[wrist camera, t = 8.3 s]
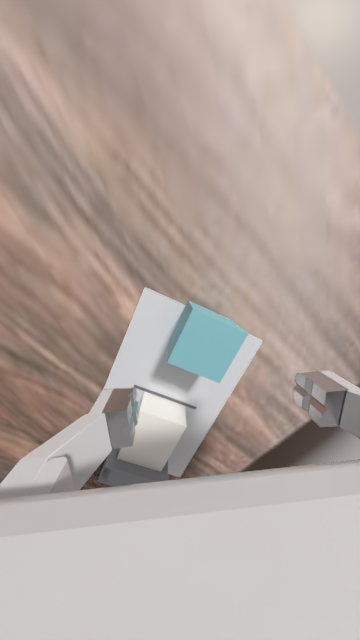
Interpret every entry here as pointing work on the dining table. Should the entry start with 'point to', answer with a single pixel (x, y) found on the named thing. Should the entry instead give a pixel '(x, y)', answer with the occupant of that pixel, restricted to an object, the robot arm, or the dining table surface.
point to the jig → (164, 396)
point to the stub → (204, 342)
